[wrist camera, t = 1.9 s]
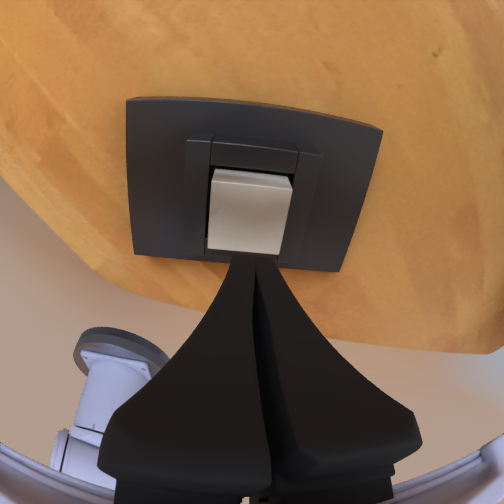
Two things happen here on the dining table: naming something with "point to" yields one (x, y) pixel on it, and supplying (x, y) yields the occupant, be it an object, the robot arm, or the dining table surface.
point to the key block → (250, 160)
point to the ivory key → (248, 211)
